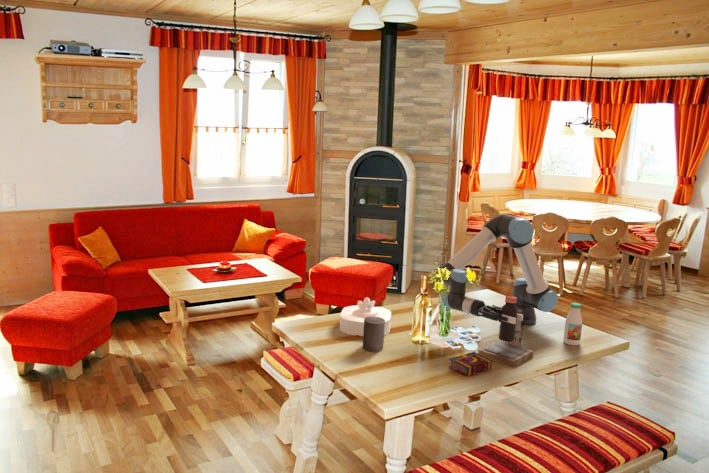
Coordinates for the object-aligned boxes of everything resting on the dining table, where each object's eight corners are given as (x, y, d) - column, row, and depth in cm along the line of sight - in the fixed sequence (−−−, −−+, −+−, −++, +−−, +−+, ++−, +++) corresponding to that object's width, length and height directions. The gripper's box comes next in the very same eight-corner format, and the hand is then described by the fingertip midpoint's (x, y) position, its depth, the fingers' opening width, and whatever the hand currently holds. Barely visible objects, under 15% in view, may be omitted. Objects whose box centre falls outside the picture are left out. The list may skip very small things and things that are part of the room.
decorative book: (491, 370, 268) (492, 359, 267) (465, 378, 259) (466, 367, 258) (472, 361, 277) (473, 350, 276) (446, 368, 268) (447, 357, 267)
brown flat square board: (497, 345, 296) (498, 339, 295) (532, 356, 284) (533, 350, 284) (477, 355, 283) (478, 348, 282) (513, 367, 271) (514, 360, 271)
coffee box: (520, 346, 296) (524, 314, 293) (507, 344, 298) (510, 312, 294) (519, 339, 305) (523, 308, 302) (506, 338, 306) (509, 306, 303)
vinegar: (513, 343, 278) (518, 300, 274) (498, 340, 280) (503, 297, 276) (514, 338, 284) (519, 296, 281) (499, 335, 286) (504, 294, 283)
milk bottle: (560, 342, 303) (565, 303, 299) (567, 338, 309) (571, 300, 305) (575, 347, 298) (580, 307, 294) (582, 343, 304) (587, 304, 300)
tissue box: (344, 317, 327) (345, 288, 323) (391, 321, 324) (393, 291, 321) (337, 334, 302) (338, 302, 299) (388, 338, 300) (390, 306, 296)
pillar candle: (359, 349, 284) (361, 318, 281) (366, 342, 293) (368, 312, 290) (379, 353, 281) (381, 322, 277) (386, 346, 290) (388, 315, 286)
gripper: (483, 310, 299) (528, 322, 284) (462, 318, 286) (507, 332, 270) (485, 295, 298) (529, 307, 283) (463, 303, 284) (509, 316, 269)
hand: (518, 319), depth 276 cm, fingers closed on vinegar, 6 cm apart
